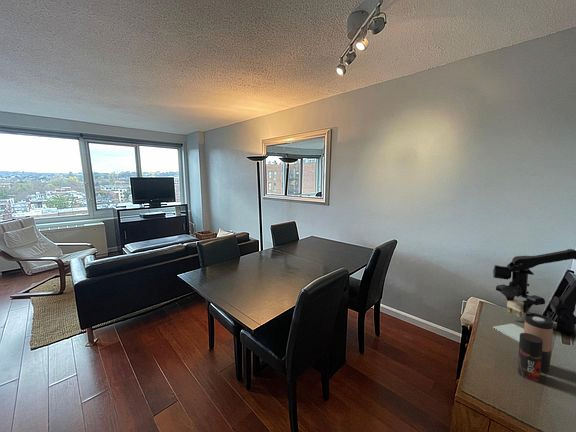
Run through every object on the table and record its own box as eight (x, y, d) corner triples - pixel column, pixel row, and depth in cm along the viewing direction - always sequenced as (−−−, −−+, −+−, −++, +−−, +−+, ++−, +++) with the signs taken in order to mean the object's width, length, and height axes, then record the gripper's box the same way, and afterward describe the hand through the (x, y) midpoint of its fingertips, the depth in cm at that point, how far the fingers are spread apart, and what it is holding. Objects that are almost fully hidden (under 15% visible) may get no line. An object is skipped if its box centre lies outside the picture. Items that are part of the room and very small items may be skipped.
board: (512, 324, 120) (512, 323, 120) (541, 339, 108) (541, 337, 108) (493, 328, 118) (493, 326, 118) (520, 342, 106) (520, 341, 106)
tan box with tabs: (515, 310, 126) (516, 299, 125) (528, 315, 120) (529, 304, 120) (506, 311, 125) (507, 300, 124) (519, 317, 119) (520, 306, 118)
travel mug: (536, 359, 96) (540, 312, 94) (556, 373, 88) (560, 323, 86) (516, 358, 97) (519, 312, 95) (534, 372, 89) (537, 323, 87)
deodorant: (533, 370, 90) (535, 334, 88) (544, 382, 84) (547, 344, 83) (513, 367, 92) (516, 331, 90) (523, 379, 86) (525, 341, 85)
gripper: (488, 276, 128) (486, 303, 130) (528, 289, 110) (526, 321, 112) (504, 274, 130) (503, 301, 132) (547, 287, 112) (544, 318, 114)
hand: (517, 309), depth 122 cm, fingers closed on tan box with tabs, 6 cm apart
